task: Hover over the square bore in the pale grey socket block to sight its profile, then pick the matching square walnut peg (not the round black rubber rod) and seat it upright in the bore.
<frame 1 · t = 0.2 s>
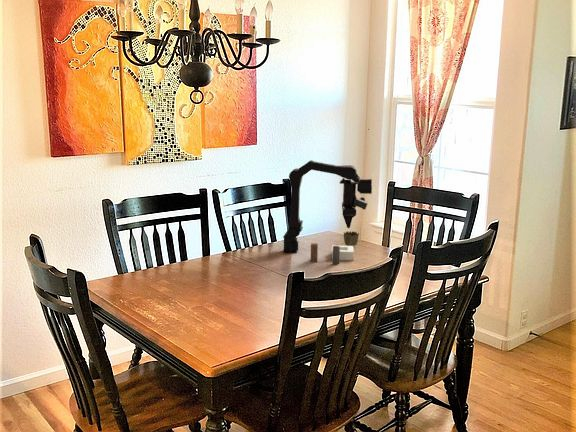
hand: (348, 225, 277), 14 cm above the table, fingers open, 9 cm apart
socket block: (342, 256, 275), on the table
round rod: (336, 263, 265), on the table
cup: (350, 249, 289), on the table
square peg: (314, 261, 269), on the table
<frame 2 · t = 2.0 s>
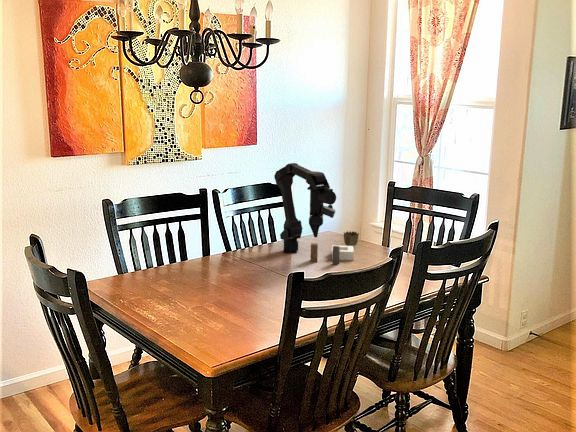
hand: (315, 234, 266), 12 cm above the table, fingers open, 9 cm apart
nothing on the table moved.
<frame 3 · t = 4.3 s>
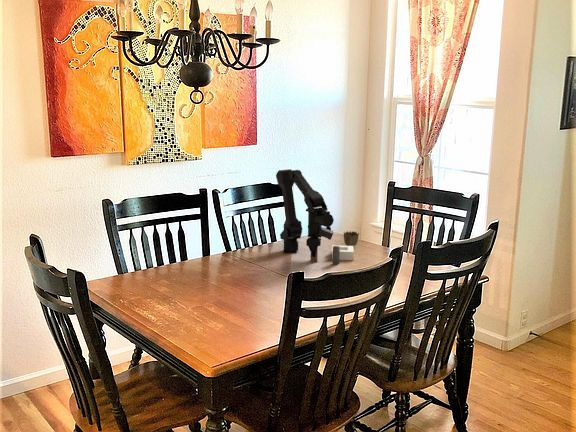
hand: (314, 255, 268), 3 cm above the table, fingers closed on square peg, 3 cm apart
square peg: (314, 261, 269), on the table, touching gripper
everything else where it was.
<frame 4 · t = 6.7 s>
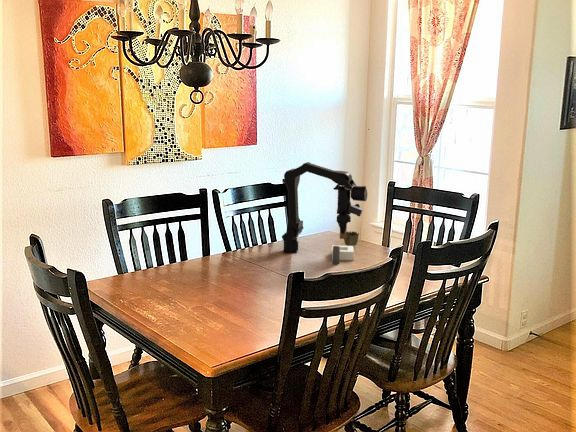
hand: (343, 232, 273), 12 cm above the table, fingers closed on square peg, 3 cm apart
square peg: (343, 237, 273), point 9 cm above the table, touching gripper
everything else where it was.
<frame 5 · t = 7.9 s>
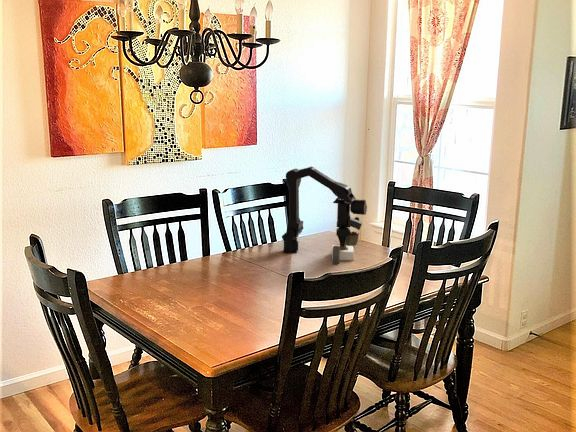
hand: (342, 245, 274), 5 cm above the table, fingers closed on square peg, 3 cm apart
square peg: (342, 251, 275), point 3 cm above the table, touching gripper
everything else where it was.
when the fingers open (4 cm above the table, at t = 9.1 s): square peg drops 2 cm, resting in socket block.
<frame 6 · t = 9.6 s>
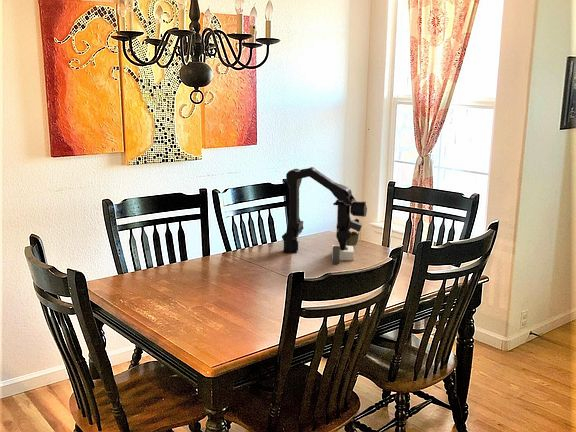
hand: (342, 247, 274), 4 cm above the table, fingers open, 8 cm apart
square peg: (342, 256, 275), resting in socket block
everything else where it was.
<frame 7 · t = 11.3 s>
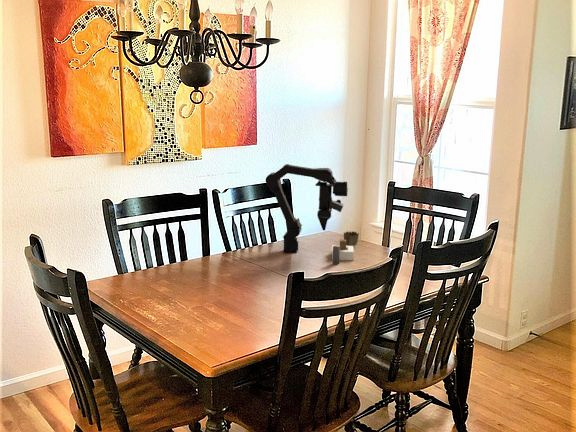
hand: (324, 227, 279), 12 cm above the table, fingers open, 9 cm apart
nothing on the table moved.
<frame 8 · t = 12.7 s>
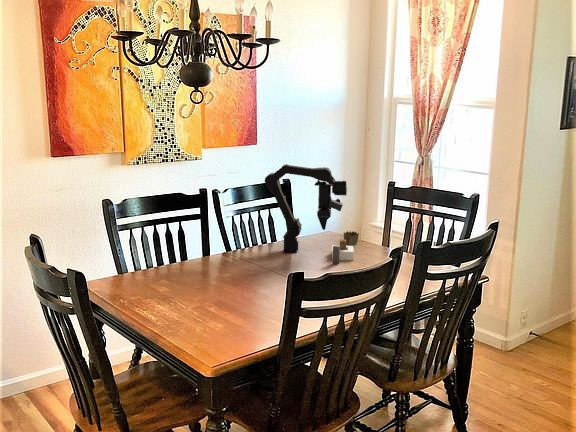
hand: (324, 227, 279), 13 cm above the table, fingers open, 9 cm apart
nothing on the table moved.
at the end: square peg 0.0 cm off-centre on the socket block, point 0.0 cm above the socket block's base; square peg tilted 0°; the gripper is holding nothing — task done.
